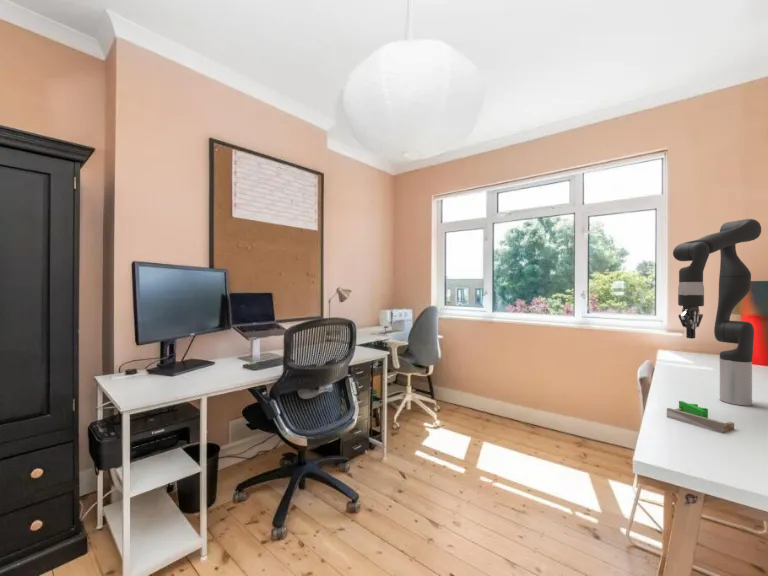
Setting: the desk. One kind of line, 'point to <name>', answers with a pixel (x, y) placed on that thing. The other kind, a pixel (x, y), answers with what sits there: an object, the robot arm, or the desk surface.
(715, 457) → the desk surface
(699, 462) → the desk surface
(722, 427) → the channel stop
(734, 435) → the desk surface
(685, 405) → the pipe clamp
